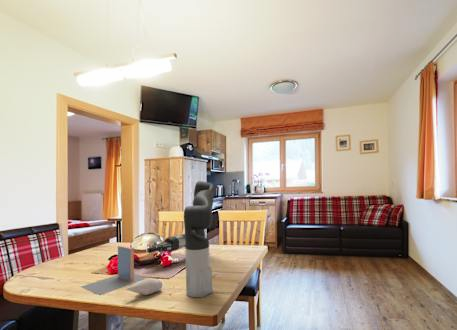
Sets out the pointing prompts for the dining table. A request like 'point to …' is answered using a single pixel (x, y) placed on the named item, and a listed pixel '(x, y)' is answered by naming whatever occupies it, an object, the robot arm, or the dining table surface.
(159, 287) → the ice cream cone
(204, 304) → the dining table surface
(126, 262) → the tile
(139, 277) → the mat
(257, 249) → the dining table surface
